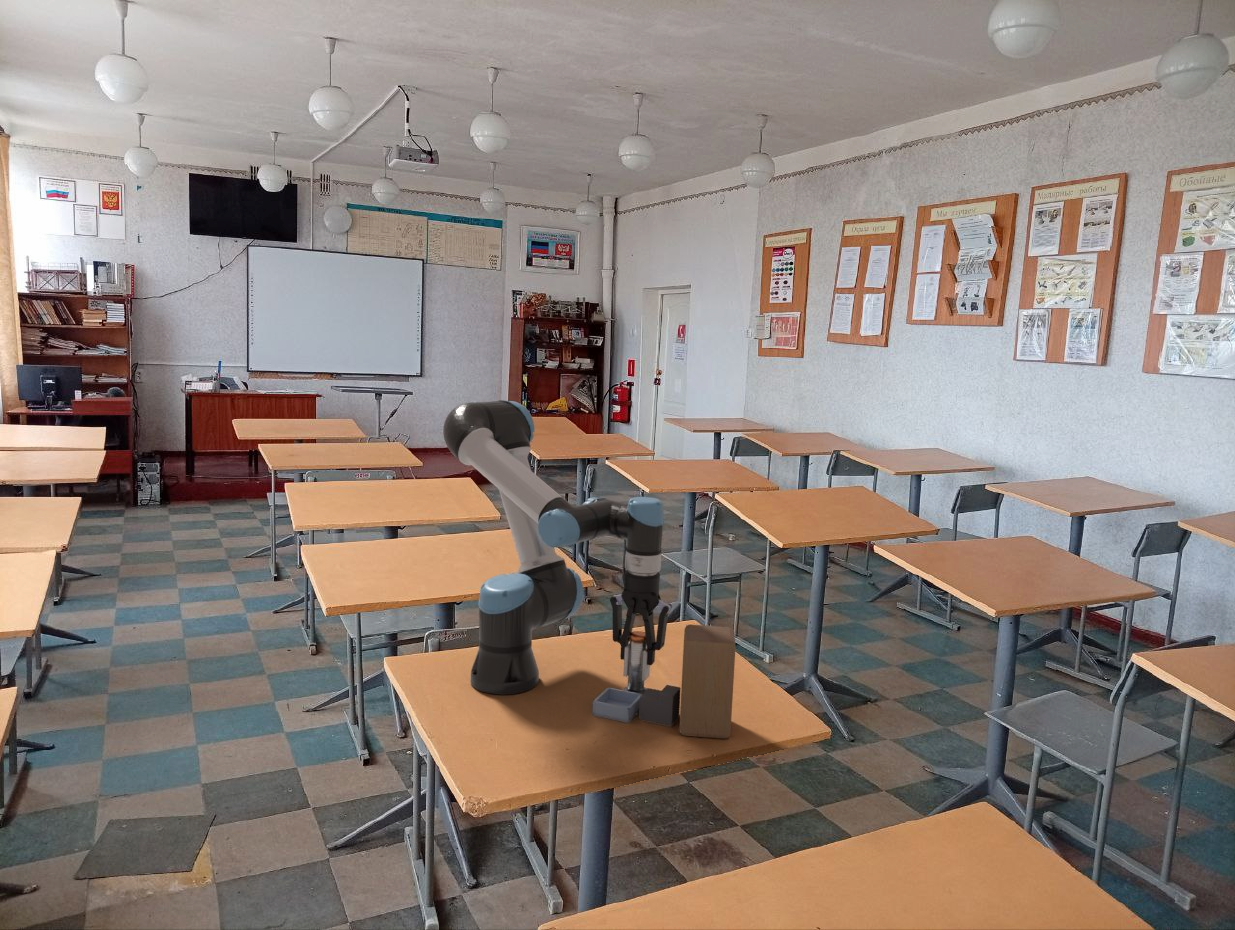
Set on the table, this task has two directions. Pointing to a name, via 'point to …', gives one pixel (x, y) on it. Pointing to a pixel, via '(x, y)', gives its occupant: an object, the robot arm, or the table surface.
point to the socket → (636, 691)
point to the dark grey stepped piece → (660, 705)
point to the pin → (636, 660)
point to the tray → (617, 705)
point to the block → (707, 681)
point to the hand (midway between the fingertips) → (636, 675)
